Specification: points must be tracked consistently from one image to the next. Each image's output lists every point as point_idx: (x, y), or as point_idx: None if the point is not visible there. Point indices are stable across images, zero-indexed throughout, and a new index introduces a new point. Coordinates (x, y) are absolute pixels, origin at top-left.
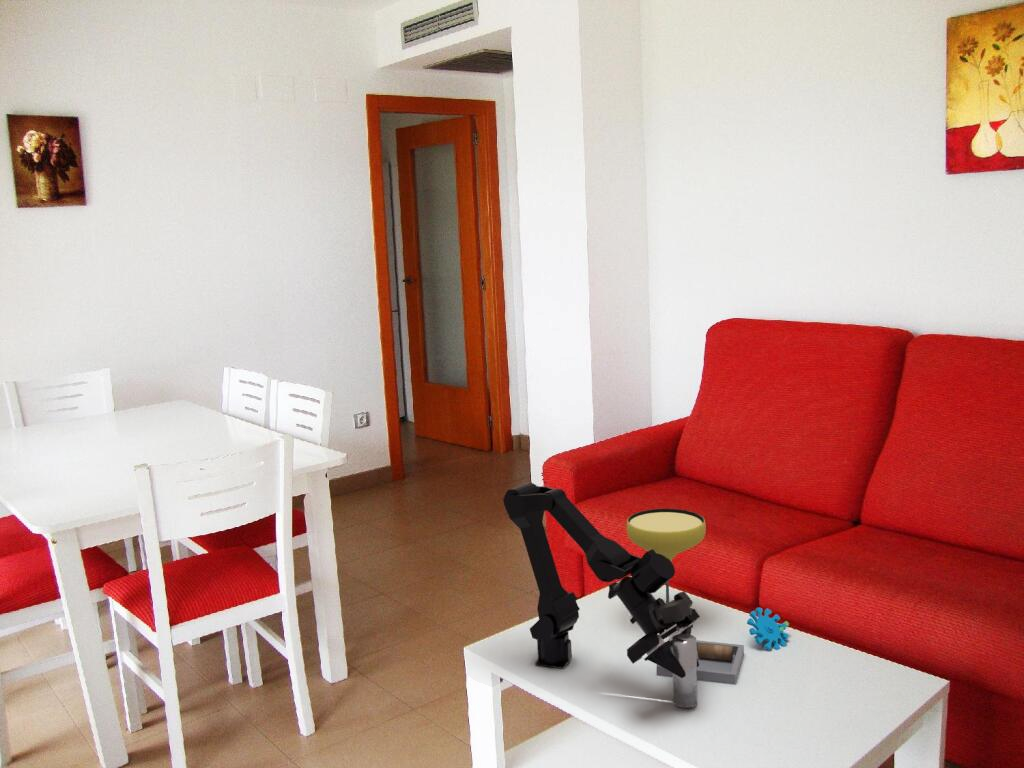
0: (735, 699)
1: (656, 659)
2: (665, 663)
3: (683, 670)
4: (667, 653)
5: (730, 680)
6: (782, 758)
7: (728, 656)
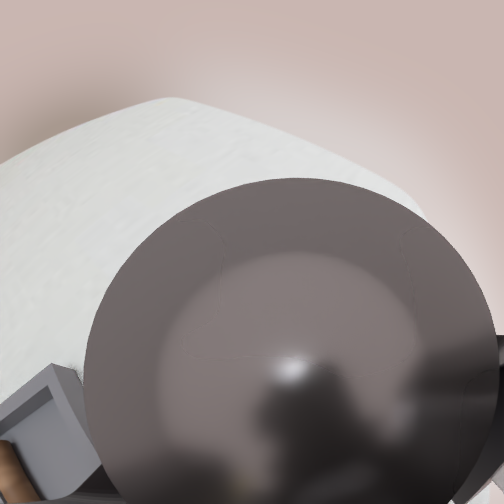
0: None
1: None
2: None
3: None
4: (502, 338)
5: (69, 380)
6: (249, 120)
7: (5, 446)
